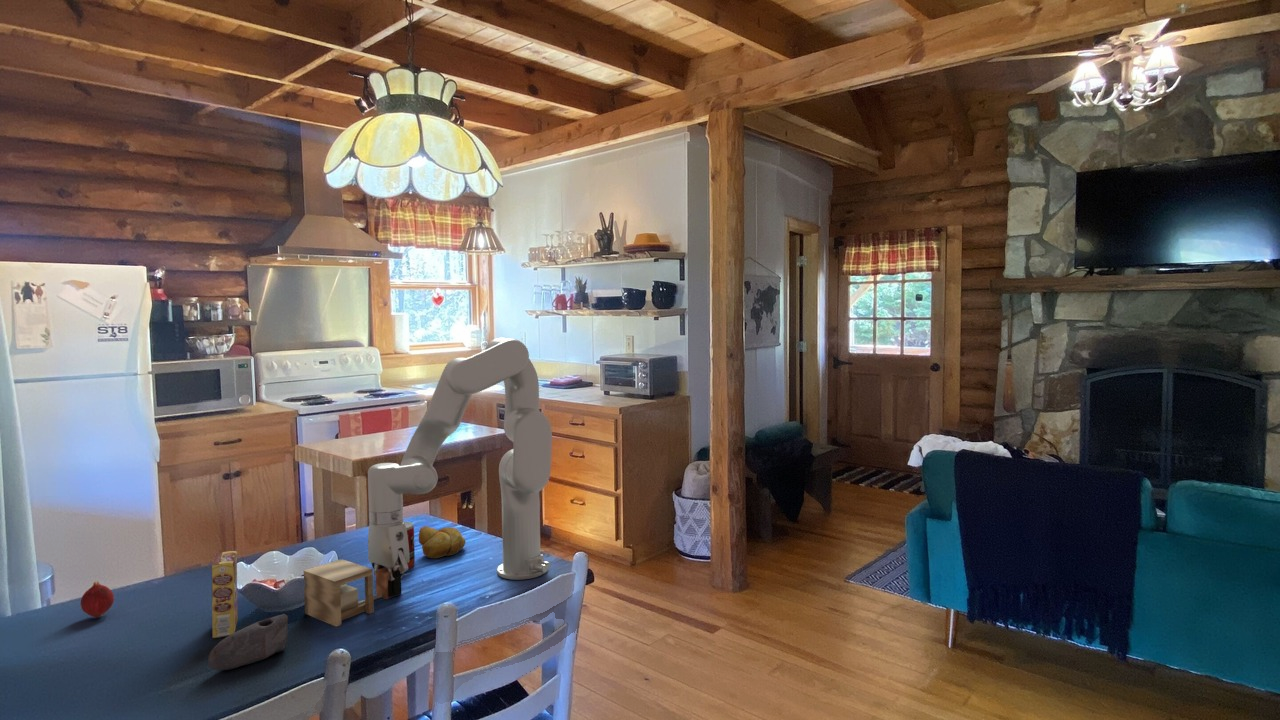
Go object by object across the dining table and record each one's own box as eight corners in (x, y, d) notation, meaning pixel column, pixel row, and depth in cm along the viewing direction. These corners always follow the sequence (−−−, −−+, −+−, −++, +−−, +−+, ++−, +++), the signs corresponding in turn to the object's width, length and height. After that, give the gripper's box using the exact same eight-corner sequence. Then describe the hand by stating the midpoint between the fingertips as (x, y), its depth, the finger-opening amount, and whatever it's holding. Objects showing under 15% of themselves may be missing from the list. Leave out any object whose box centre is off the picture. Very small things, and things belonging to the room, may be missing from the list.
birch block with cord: (402, 594, 166) (401, 569, 166) (337, 618, 153) (336, 591, 152) (389, 589, 169) (388, 565, 169) (324, 613, 155) (323, 586, 155)
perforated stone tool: (214, 681, 126) (212, 643, 126) (203, 672, 130) (201, 635, 129) (298, 650, 138) (297, 616, 138) (286, 643, 141) (285, 609, 141)
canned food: (409, 571, 181) (407, 529, 181) (378, 571, 181) (377, 529, 181) (419, 561, 189) (418, 521, 188) (389, 561, 189) (388, 521, 188)
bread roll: (459, 544, 203) (458, 517, 203) (474, 553, 195) (473, 524, 195) (415, 554, 195) (414, 526, 194) (429, 563, 187) (428, 533, 187)
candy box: (236, 635, 145) (233, 562, 144) (212, 639, 143) (209, 565, 142) (239, 618, 153) (237, 549, 152) (216, 622, 151) (213, 552, 150)
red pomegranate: (120, 614, 156) (118, 579, 156) (91, 624, 151) (89, 588, 150) (105, 610, 158) (103, 575, 158) (75, 620, 153) (73, 584, 153)
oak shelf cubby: (373, 612, 156) (372, 569, 155) (336, 626, 148) (334, 581, 148) (342, 600, 163) (341, 559, 162) (305, 613, 155) (303, 570, 155)
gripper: (422, 518, 163) (424, 595, 164) (378, 507, 173) (381, 581, 174) (394, 526, 157) (397, 606, 158) (351, 514, 167) (353, 590, 168)
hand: (388, 592), depth 166 cm, fingers closed on birch block with cord, 4 cm apart
